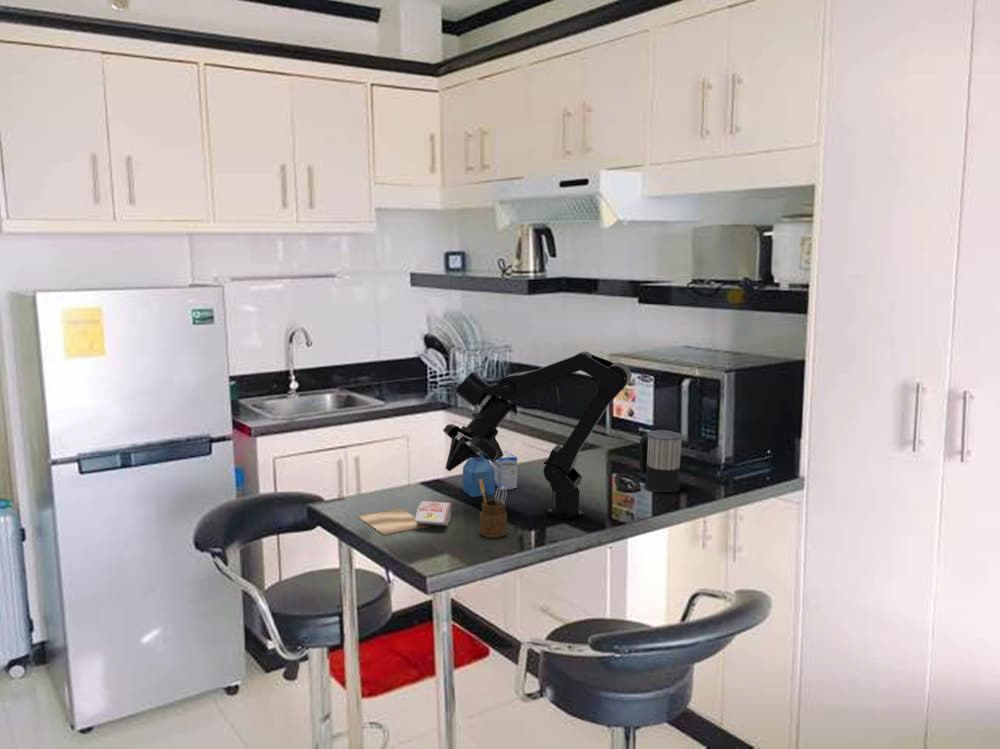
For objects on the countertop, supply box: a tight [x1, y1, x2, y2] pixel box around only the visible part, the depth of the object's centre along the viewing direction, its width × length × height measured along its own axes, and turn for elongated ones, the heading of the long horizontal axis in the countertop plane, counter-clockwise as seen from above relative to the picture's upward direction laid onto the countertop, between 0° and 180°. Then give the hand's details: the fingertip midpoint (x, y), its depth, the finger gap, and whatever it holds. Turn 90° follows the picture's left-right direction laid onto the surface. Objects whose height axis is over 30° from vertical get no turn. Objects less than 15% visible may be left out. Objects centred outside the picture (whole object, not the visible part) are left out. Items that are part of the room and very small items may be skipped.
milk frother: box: [614, 429, 684, 494], centre depth 215 cm, size 14×16×15 cm
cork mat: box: [357, 508, 430, 536], centre depth 186 cm, size 14×11×1 cm
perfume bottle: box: [462, 451, 495, 498], centre depth 209 cm, size 6×6×12 cm
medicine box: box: [491, 449, 518, 491], centre depth 216 cm, size 8×4×9 cm, turn 21°
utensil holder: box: [479, 478, 508, 539], centre depth 178 cm, size 6×6×12 cm
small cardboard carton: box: [414, 500, 452, 527], centre depth 184 cm, size 4×7×10 cm
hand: (447, 469), depth 191 cm, fingers closed
